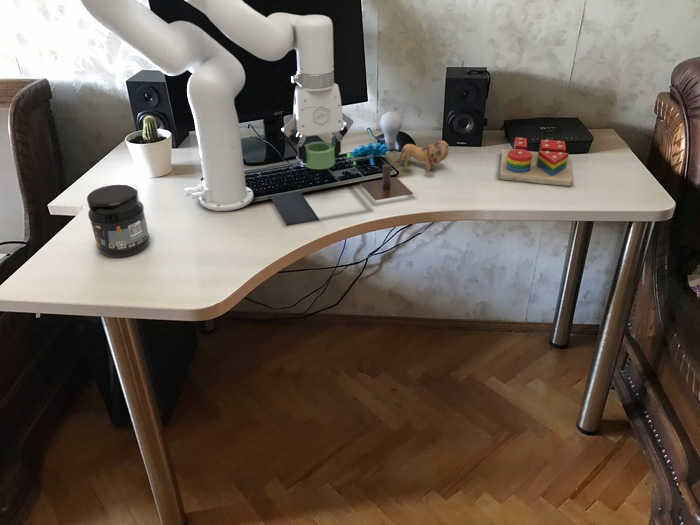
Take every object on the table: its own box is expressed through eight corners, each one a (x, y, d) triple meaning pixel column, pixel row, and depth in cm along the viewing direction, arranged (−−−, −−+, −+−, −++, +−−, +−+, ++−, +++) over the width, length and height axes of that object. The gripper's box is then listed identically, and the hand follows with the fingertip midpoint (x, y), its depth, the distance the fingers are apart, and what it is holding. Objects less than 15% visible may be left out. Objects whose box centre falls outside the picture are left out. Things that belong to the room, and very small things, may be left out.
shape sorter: (567, 160, 162) (571, 138, 158) (571, 186, 147) (576, 164, 144) (501, 154, 165) (504, 133, 162) (499, 179, 151) (502, 157, 148)
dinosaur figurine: (387, 152, 162) (388, 137, 152) (391, 172, 161) (392, 158, 151) (347, 159, 162) (345, 144, 152) (350, 179, 161) (349, 166, 151)
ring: (309, 171, 131) (308, 155, 129) (300, 159, 136) (299, 144, 134) (339, 166, 133) (338, 150, 131) (329, 155, 138) (328, 139, 136)
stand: (374, 204, 139) (375, 176, 136) (359, 187, 147) (359, 160, 144) (413, 198, 142) (415, 170, 139) (396, 181, 150) (397, 155, 146)
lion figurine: (449, 171, 156) (452, 138, 151) (443, 179, 151) (446, 145, 147) (396, 162, 161) (397, 130, 156) (389, 170, 156) (390, 137, 152)
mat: (286, 225, 131) (286, 224, 131) (270, 197, 143) (270, 195, 143) (370, 210, 137) (370, 209, 137) (348, 184, 149) (348, 183, 149)
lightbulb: (376, 147, 170) (377, 109, 164) (396, 145, 171) (397, 107, 166) (383, 155, 165) (384, 116, 159) (404, 152, 166) (406, 114, 161)
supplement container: (105, 234, 128) (92, 183, 122) (155, 232, 129) (145, 181, 122) (91, 260, 119) (76, 206, 113) (144, 258, 120) (133, 205, 113)
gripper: (280, 88, 119) (286, 171, 128) (361, 79, 124) (361, 159, 133) (271, 79, 125) (277, 158, 134) (348, 70, 130) (349, 147, 139)
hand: (319, 158), depth 134 cm, fingers closed on ring, 7 cm apart
